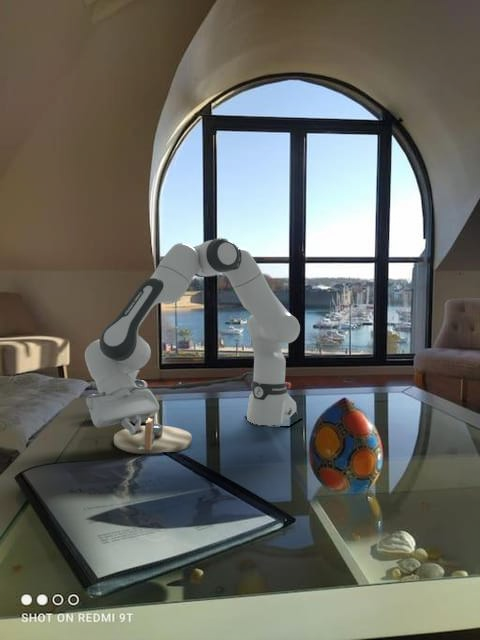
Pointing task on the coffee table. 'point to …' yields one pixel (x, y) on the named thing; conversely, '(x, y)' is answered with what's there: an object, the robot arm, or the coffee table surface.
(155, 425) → the grey pivot bar
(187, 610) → the coffee table surface
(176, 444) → the stand
